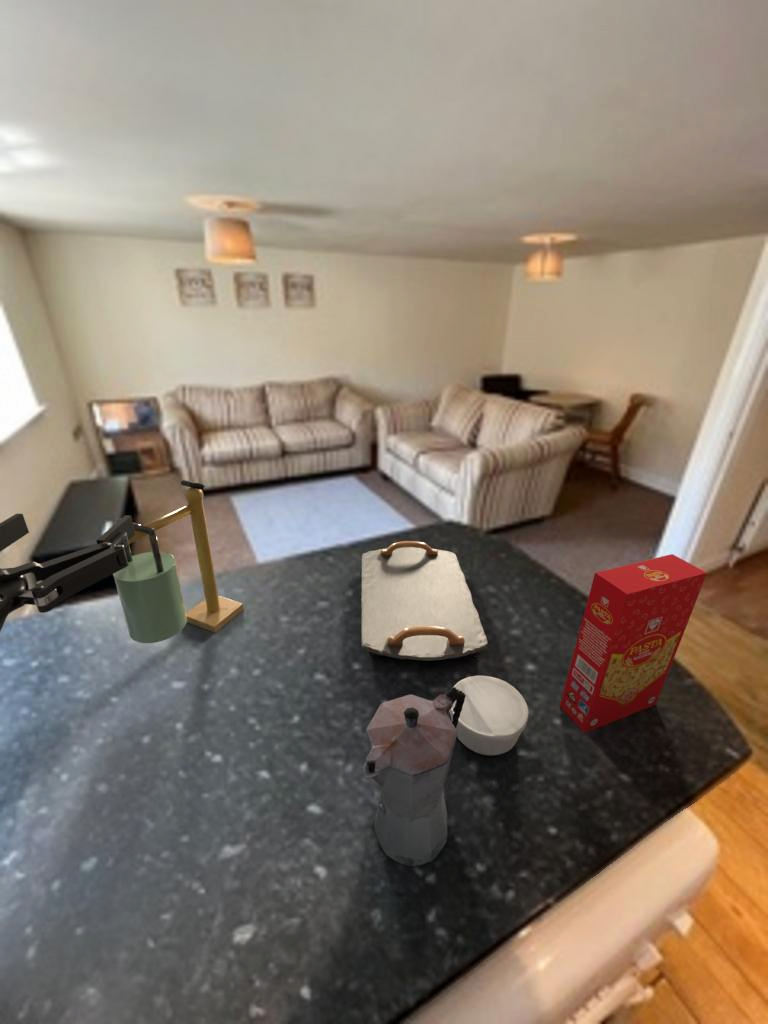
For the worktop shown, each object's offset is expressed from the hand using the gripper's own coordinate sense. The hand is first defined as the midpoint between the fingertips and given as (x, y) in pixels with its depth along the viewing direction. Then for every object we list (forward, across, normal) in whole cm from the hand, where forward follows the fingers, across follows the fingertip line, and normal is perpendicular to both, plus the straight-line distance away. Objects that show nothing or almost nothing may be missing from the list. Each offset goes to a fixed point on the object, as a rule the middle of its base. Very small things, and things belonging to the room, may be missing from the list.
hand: (77, 523), depth 57 cm
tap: (+15, +4, -31) cm, 35 cm away
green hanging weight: (+10, +2, -24) cm, 26 cm away
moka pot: (-19, +44, -31) cm, 56 cm away
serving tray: (+25, +47, -31) cm, 62 cm away
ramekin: (-6, +55, -31) cm, 63 cm away
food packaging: (-1, +76, -31) cm, 82 cm away
